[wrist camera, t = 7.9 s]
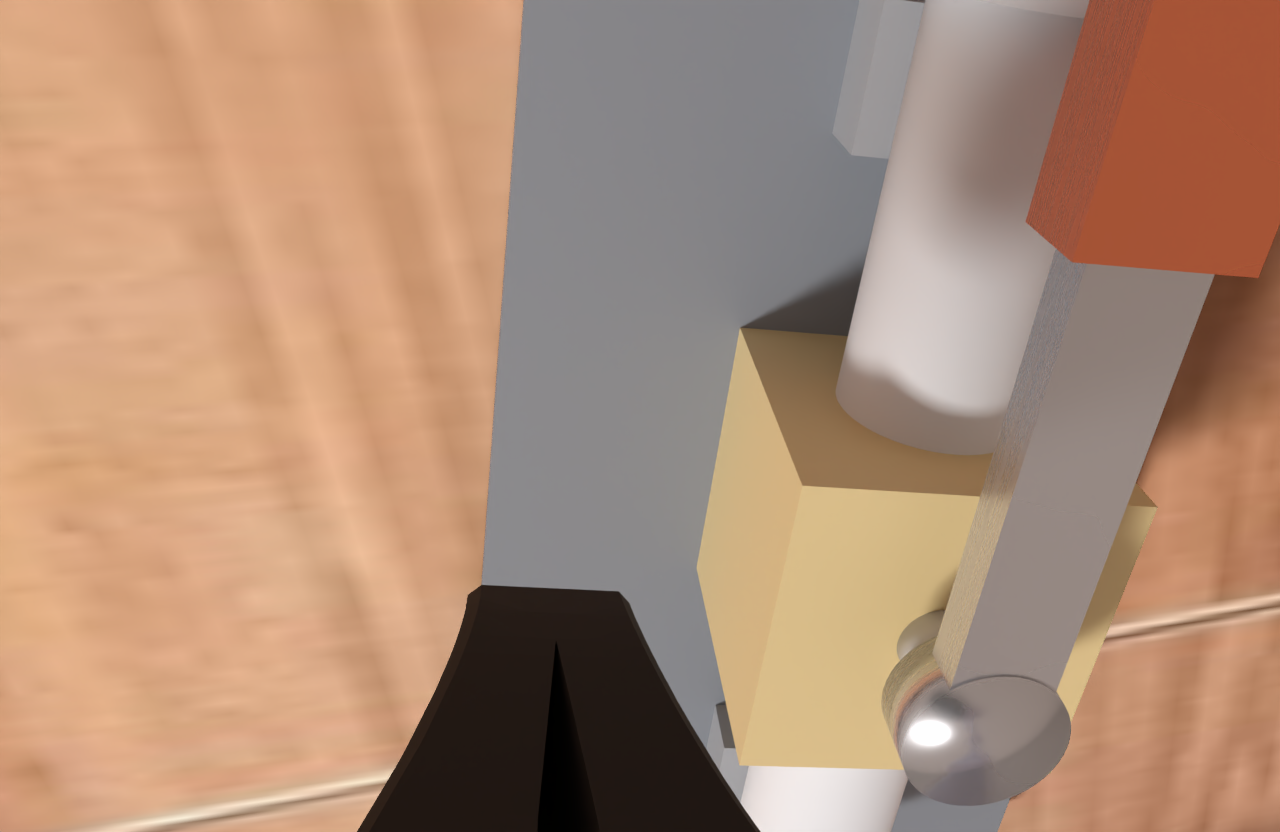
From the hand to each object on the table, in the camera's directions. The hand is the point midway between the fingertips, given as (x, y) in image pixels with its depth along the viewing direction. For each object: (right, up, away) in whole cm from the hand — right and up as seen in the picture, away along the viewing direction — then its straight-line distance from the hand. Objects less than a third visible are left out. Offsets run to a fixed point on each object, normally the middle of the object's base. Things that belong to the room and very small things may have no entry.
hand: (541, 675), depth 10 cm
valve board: (+5, +2, +11) cm, 12 cm away
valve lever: (+6, +3, +3) cm, 7 cm away
